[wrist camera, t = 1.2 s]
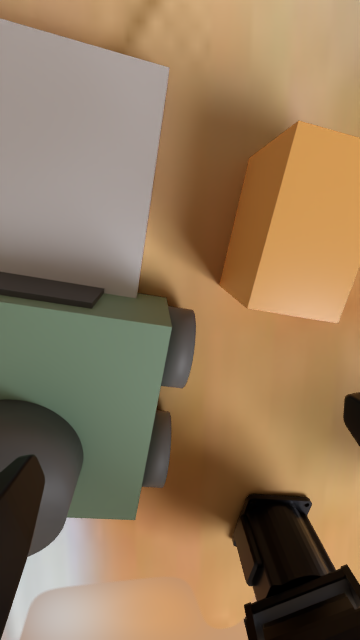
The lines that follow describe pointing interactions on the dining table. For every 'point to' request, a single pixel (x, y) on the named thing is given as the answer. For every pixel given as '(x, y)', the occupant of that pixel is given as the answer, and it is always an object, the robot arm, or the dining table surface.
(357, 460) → the dining table surface
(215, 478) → the dining table surface
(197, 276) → the dining table surface
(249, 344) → the dining table surface
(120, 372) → the green wheeled block
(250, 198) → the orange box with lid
